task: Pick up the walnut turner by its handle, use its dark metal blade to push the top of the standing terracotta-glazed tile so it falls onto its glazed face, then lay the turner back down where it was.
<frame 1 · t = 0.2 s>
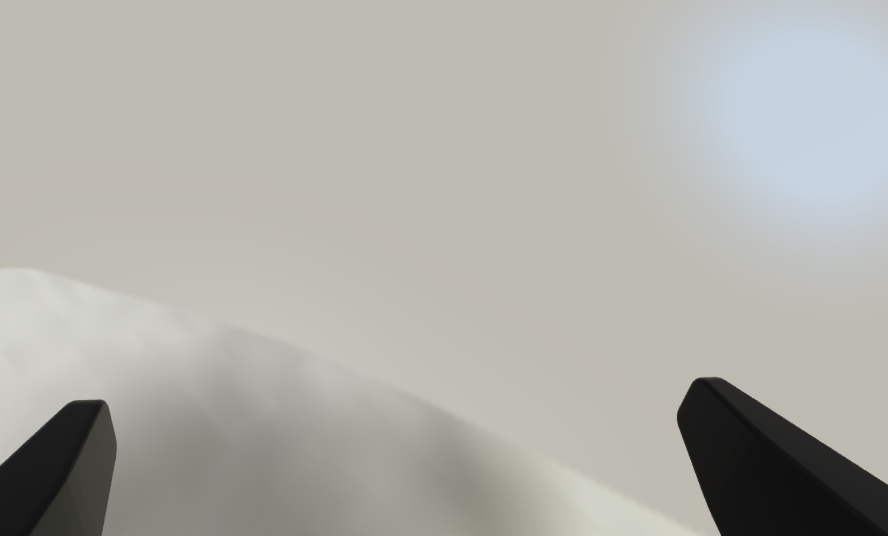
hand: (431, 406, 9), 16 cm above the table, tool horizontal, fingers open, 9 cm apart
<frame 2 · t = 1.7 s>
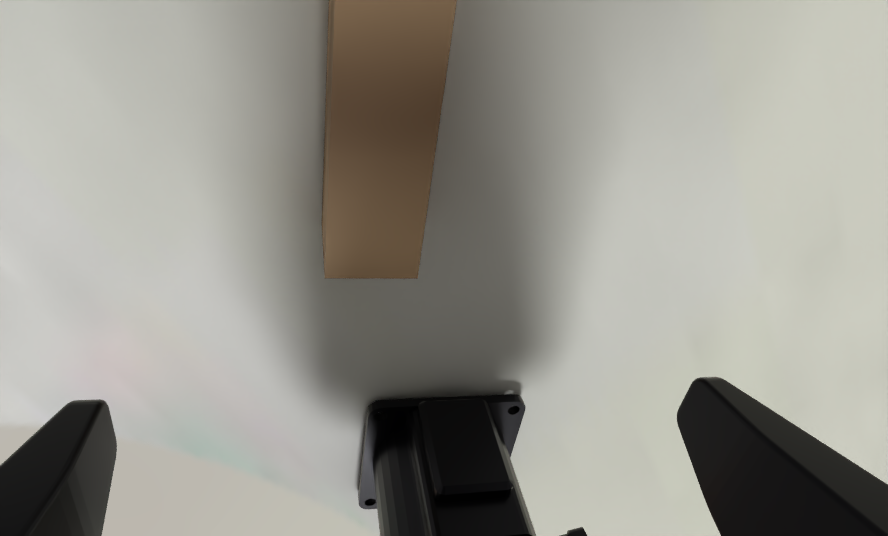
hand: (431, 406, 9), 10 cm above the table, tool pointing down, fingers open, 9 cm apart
turner: (377, 28, 16), on the table
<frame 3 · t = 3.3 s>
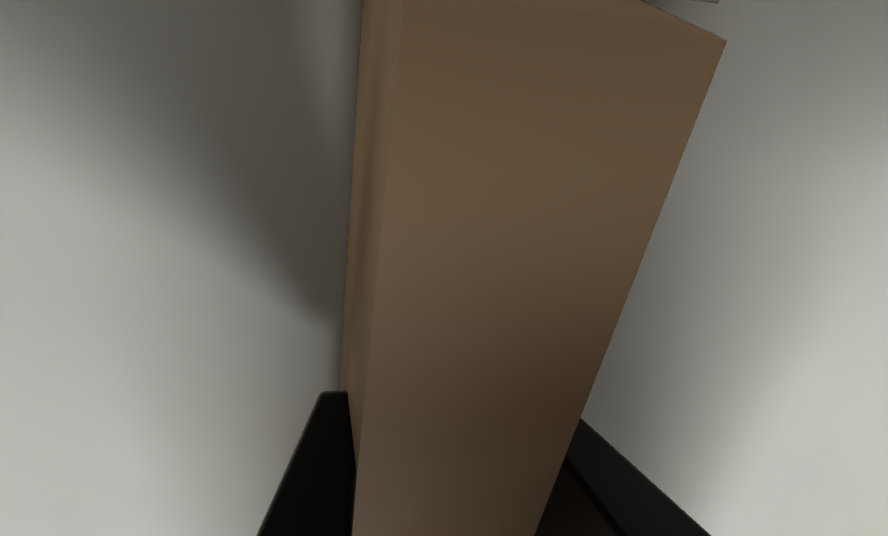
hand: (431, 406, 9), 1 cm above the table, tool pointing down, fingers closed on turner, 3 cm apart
turner: (443, 193, 9), on the table, touching gripper
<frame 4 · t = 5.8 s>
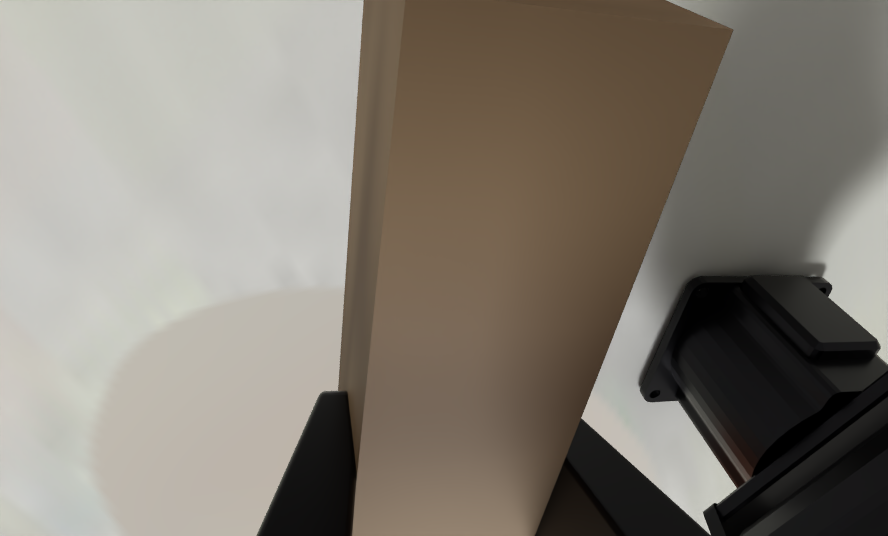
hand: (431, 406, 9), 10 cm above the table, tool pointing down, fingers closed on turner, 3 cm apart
turner: (444, 188, 8), point 9 cm above the table, touching gripper
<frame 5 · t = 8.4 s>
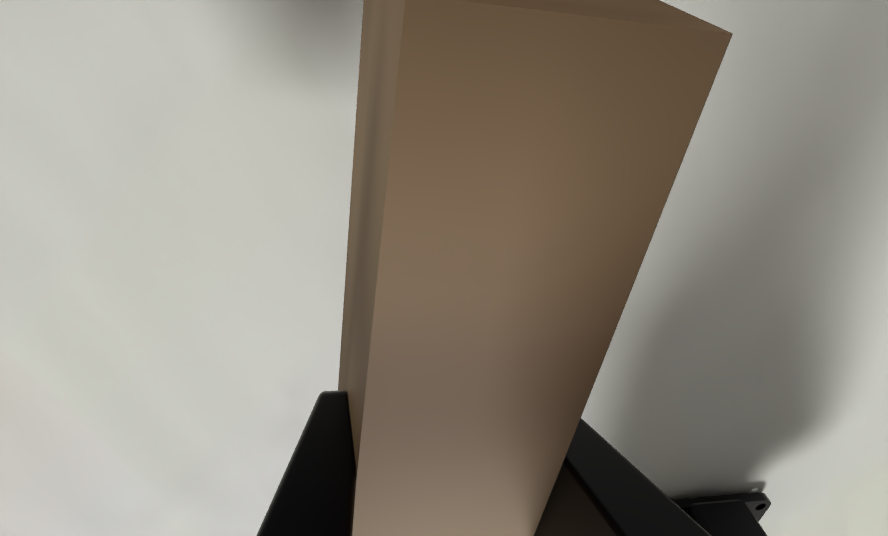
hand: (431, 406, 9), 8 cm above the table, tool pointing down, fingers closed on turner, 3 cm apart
turner: (444, 189, 8), point 6 cm above the table, touching gripper
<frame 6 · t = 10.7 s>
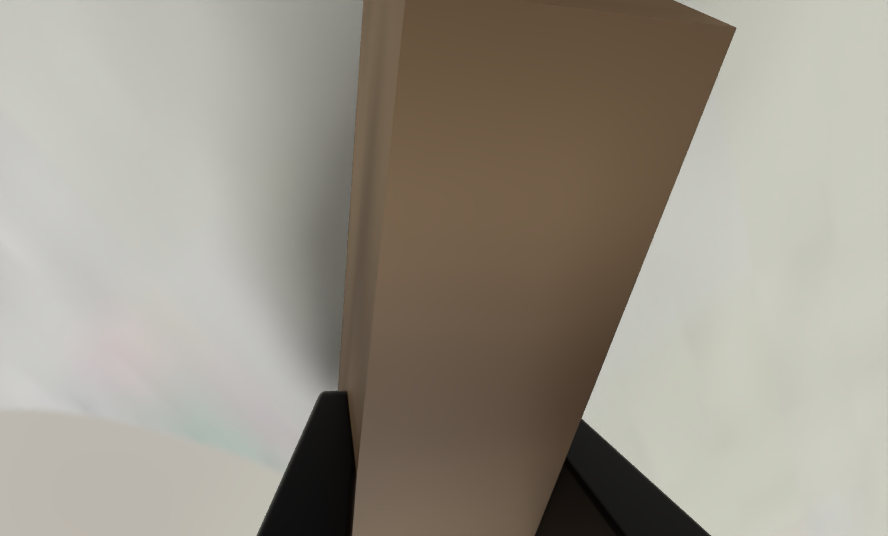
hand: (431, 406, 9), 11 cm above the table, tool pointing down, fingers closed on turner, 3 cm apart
turner: (445, 187, 8), point 10 cm above the table, touching gripper
when the fingers open (2 cm above the table, at t = 12.5 s): turner drops 1 cm, on the table.
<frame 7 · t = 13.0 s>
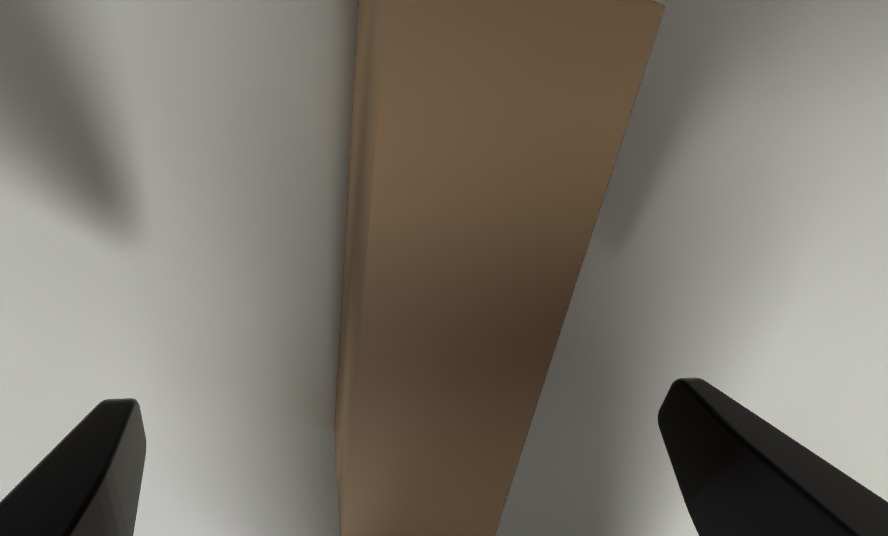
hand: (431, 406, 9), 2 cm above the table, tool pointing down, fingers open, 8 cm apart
turner: (433, 159, 9), on the table
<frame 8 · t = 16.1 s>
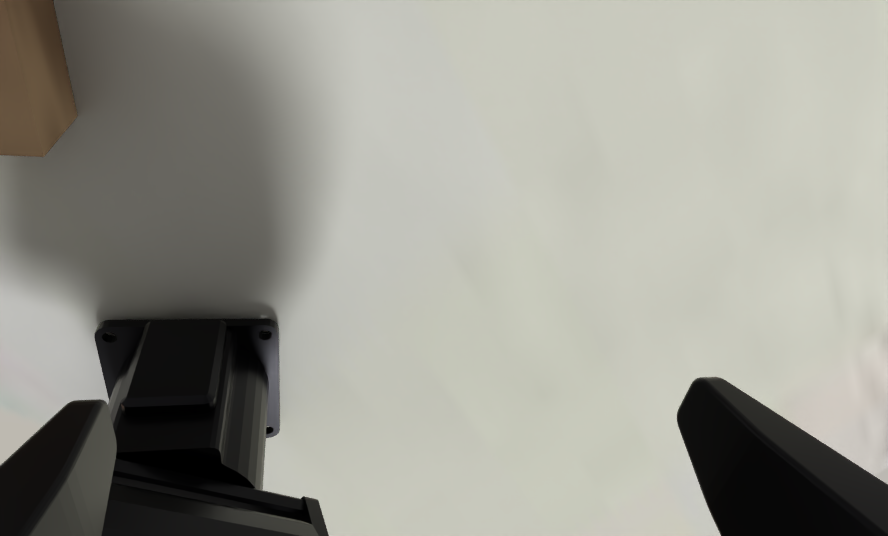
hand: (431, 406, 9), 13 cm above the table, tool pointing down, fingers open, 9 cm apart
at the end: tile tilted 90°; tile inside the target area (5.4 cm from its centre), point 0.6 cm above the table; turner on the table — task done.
